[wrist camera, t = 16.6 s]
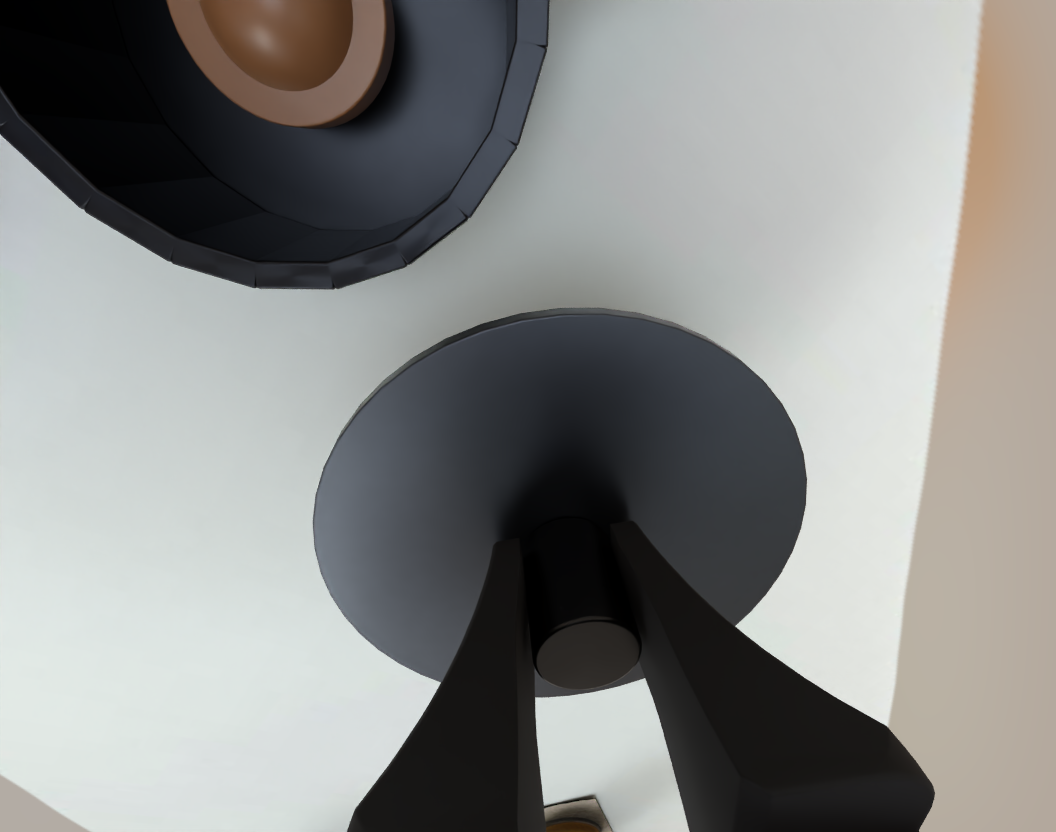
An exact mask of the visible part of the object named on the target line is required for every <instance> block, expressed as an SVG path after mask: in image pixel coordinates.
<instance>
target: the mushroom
mask: <svg viewBox="0 0 1056 832" xmlns="http://www.w3.org/2000/svg"><path fill="white" fill-rule="evenodd" d="M166 1H167V4H168V8H169V11H170V14H171V17H172V19H173V22H174V24H175V27H176V29H177V32H178V33H179V35H180V37H181V39H182V41H183V43H184V45H185V47H186V49H187V50H188V52H189V54H190V55H191V57H192V58H193V60H194V61H195V63H196V64H197V66H198V67H199V68H200V69H201V71H202V72H203V73H204V75H205V76H206V77H207V78H208V79H209V80H210V81H211V82H212V83H213V84H214V86H215V87H216V88H217V89H218V90H219V91H221V92H222V93H223V94H224V95H225V96H226V97H227V98H229V99H230V100H231V101H232V102H234V103H235V104H237V105H238V106H240V107H241V108H242V109H244V110H246V111H248V112H249V113H251V114H253V115H255V116H257V117H259V118H262V119H264V120H266V121H269V122H272V123H276V124H280V125H283V126H291V127H299V128H307V129H324V128H330V127H335V126H338V125H341V124H344V123H346V122H348V121H350V120H352V119H353V118H355V117H357V116H358V115H359V114H361V113H362V112H363V111H364V110H365V109H366V108H367V107H368V106H369V105H370V104H371V103H372V102H373V101H374V99H375V98H376V97H377V95H378V94H379V92H380V91H381V89H382V87H383V85H384V83H385V81H386V78H387V75H388V72H389V70H390V66H391V62H392V57H393V51H394V41H395V24H394V15H393V7H392V2H391V0H166Z"/></svg>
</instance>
